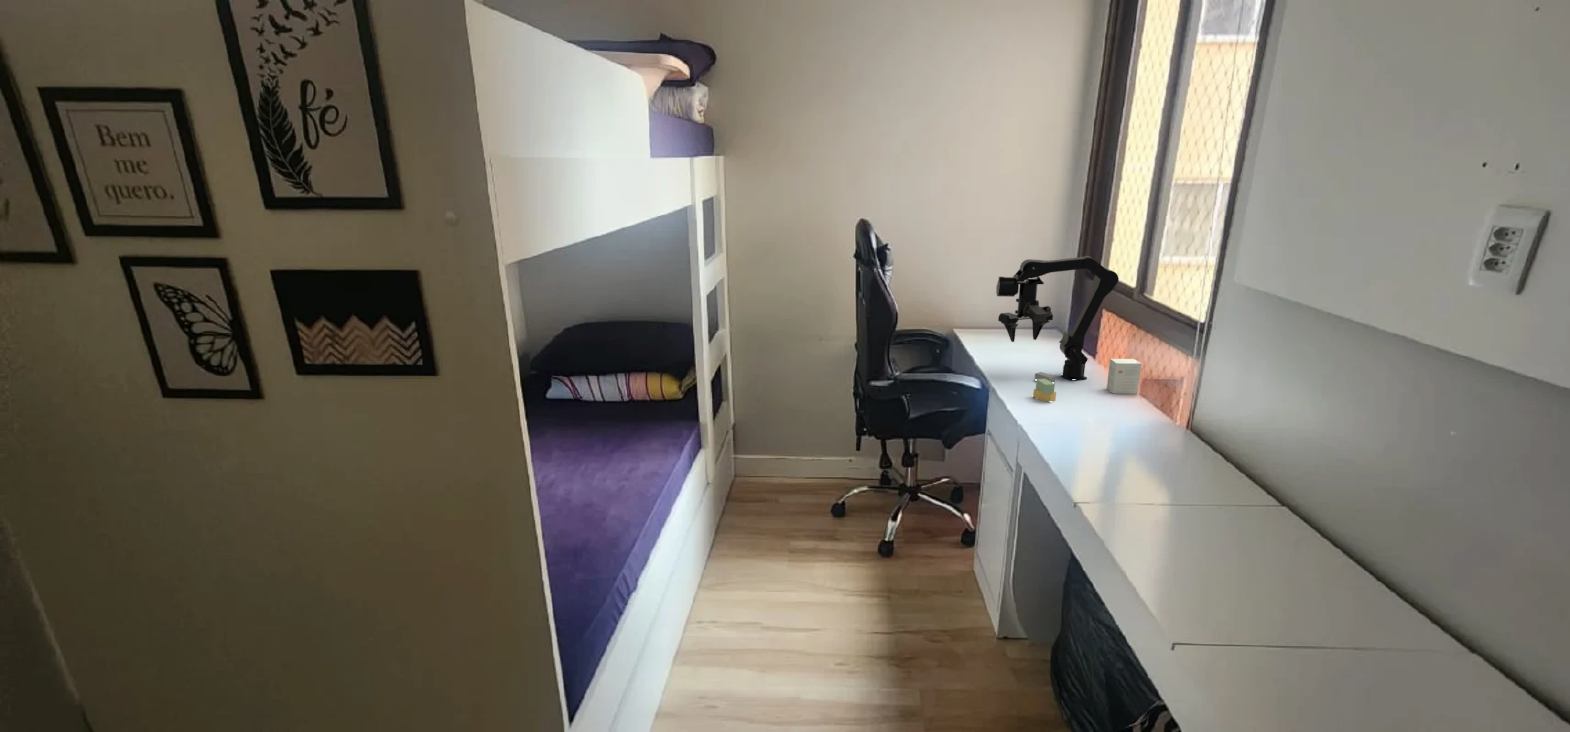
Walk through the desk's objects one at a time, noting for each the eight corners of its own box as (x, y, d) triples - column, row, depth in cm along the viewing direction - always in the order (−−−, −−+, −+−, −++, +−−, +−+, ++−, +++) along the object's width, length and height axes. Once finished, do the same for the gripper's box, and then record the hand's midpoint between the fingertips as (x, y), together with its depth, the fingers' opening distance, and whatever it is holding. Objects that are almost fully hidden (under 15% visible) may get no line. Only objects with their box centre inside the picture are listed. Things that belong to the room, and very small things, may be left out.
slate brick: (1034, 381, 235) (1035, 373, 234) (1040, 380, 237) (1041, 371, 236) (1048, 385, 230) (1049, 377, 229) (1054, 384, 232) (1055, 376, 231)
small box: (1131, 389, 225) (1135, 358, 222) (1137, 394, 220) (1142, 363, 217) (1105, 388, 226) (1109, 358, 223) (1112, 393, 221) (1116, 362, 218)
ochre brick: (1033, 398, 218) (1033, 389, 217) (1038, 396, 219) (1038, 387, 219) (1050, 403, 213) (1051, 393, 212) (1055, 400, 215) (1056, 392, 214)
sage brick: (1035, 388, 218) (1036, 379, 217) (1044, 387, 219) (1045, 378, 218) (1044, 393, 212) (1045, 384, 212) (1053, 393, 213) (1054, 384, 212)
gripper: (1019, 302, 223) (1015, 348, 227) (1066, 298, 228) (1061, 343, 233) (999, 297, 233) (995, 341, 237) (1044, 293, 239) (1040, 336, 243)
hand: (1023, 340), depth 237 cm, fingers open, 9 cm apart
